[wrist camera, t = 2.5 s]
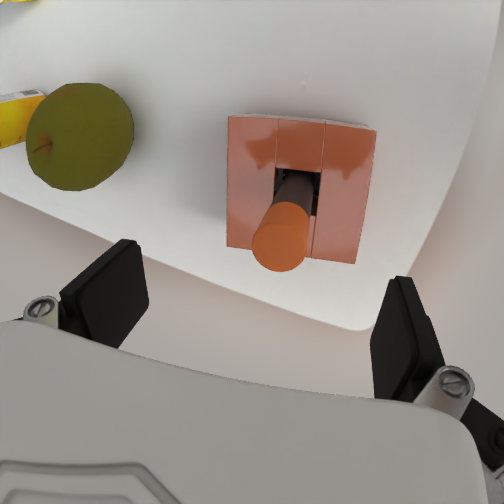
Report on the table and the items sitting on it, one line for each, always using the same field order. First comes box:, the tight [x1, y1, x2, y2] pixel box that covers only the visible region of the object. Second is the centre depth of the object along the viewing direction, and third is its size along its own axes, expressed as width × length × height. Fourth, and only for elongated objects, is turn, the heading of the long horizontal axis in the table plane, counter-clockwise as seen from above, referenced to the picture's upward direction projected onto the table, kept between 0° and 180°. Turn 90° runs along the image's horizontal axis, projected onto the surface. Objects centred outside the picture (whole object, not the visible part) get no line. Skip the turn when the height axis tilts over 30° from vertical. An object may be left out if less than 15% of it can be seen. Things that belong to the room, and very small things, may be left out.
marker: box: [252, 169, 315, 272], centre depth 20 cm, size 2×2×14 cm
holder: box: [227, 113, 377, 264], centre depth 24 cm, size 10×10×5 cm
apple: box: [25, 83, 134, 191], centre depth 23 cm, size 10×10×11 cm
